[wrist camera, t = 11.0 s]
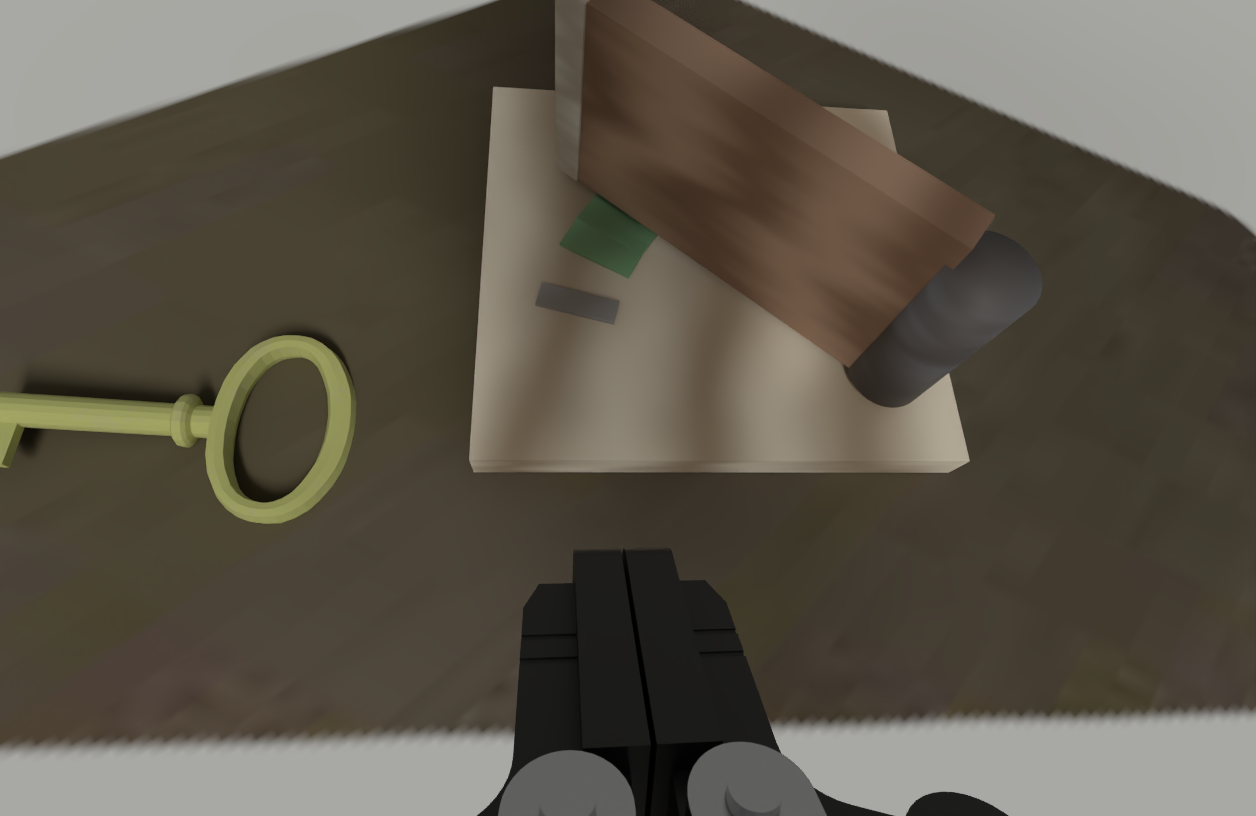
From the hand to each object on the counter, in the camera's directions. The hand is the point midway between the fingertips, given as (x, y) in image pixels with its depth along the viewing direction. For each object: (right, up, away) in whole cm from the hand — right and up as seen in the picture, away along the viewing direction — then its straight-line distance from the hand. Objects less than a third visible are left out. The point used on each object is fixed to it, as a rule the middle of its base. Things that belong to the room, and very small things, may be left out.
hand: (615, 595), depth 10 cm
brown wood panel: (+5, +9, +17) cm, 20 cm away
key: (-16, +2, +15) cm, 22 cm away
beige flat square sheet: (+4, +9, +19) cm, 21 cm away
